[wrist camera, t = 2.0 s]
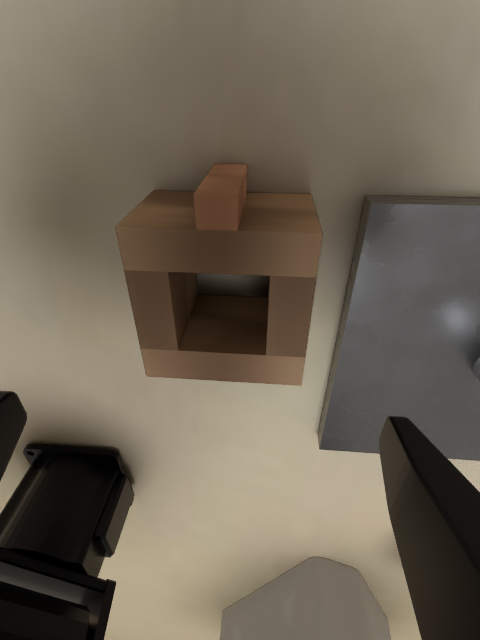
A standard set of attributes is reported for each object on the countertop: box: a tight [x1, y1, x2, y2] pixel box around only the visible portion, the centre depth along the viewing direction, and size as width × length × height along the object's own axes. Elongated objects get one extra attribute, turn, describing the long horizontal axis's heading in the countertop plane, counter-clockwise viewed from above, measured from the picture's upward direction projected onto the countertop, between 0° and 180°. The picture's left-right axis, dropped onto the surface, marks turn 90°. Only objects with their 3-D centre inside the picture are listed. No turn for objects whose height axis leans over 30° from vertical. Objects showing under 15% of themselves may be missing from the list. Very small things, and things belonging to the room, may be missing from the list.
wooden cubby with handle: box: [115, 163, 323, 386], centre depth 13 cm, size 6×7×4 cm
